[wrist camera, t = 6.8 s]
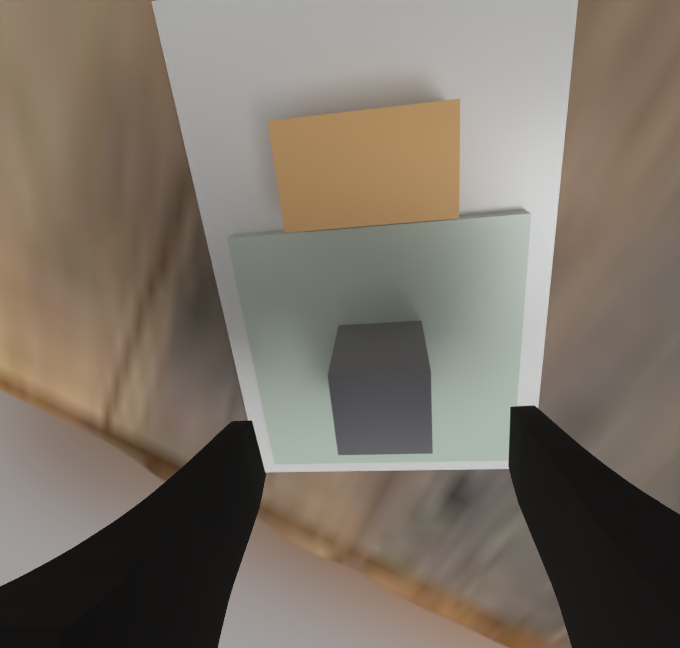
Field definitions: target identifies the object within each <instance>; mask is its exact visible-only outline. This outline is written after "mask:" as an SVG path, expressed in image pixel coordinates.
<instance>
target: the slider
mask: <svg viewBox="0 0 680 648" xmlns="http://www.w3.org/2000/svg"><path fill="white" fill-rule="evenodd" d="M267 122H268V129H269V135H270V141H271V148H272V154H273V161H274V167H275V173H276V180H277V186H278V193H279V199H280V206H281V212H282V218H283V225H284V231H285V233H289V232H301V231H313V230H325V229H337V228H349V227H361V226H372V225H384V224H396V223H408V222H420V221H432V220H444V219H456V218H459V188H460V99H451V100H442V101H434V102H425V103H417V104H408V105H400V106H391V107H383V108H374V109H365V110H357V111H348V112H340V113H331V114H323V115H314V116H306V117H297V118H288V119H280V120H271V121H267Z"/></svg>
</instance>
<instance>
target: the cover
mask: <svg viewBox="0 0 680 648" xmlns="http://www.w3.org/2000/svg"><path fill="white" fill-rule="evenodd" d="M530 223H531V213H530V212H528V211H527V210H518V211H506V212H494V213H483V214H471V215H459V218H456V219H444V220H432V221H420V222H408V223H396V224H384V225H372V226H361V227H349V228H337V229H325V230H313V231H301V232H289V233H285V231H284V230H281V231H269V232H258V233H246V234H234V235H231V236H230V237H229V238H227V241H228V245H229V250H230V255H231V260H232V264H233V269H234V274H235V279H236V283H237V288H238V293H239V297H240V302H241V307H242V312H243V316H244V321H245V326H246V331H247V335H248V340H249V345H250V350H251V354H252V359H253V364H254V368H255V373H256V378H257V383H258V387H259V392H260V397H261V402H262V406H263V411H264V416H265V421H266V425H267V430H268V435H269V439H270V444H271V449H272V454H273V458H274V463H275V464H328V463H390V462H451V461H509V435H510V407H514V406H517V398H518V385H519V371H520V358H521V344H522V331H523V317H524V304H525V290H526V277H527V263H528V250H529V236H530Z"/></svg>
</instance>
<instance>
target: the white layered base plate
mask: <svg viewBox="0 0 680 648" xmlns="http://www.w3.org/2000/svg"><path fill="white" fill-rule="evenodd" d="M152 6H153V11H154V15H155V19H156V24H157V28H158V32H159V37H160V41H161V45H162V50H163V54H164V58H165V63H166V67H167V71H168V76H169V80H170V84H171V89H172V93H173V97H174V102H175V106H176V110H177V115H178V119H179V123H180V128H181V132H182V136H183V141H184V145H185V149H186V154H187V158H188V162H189V166H190V171H191V175H192V179H193V184H194V188H195V192H196V197H197V201H198V205H199V210H200V214H201V218H202V223H203V227H204V231H205V236H206V240H207V244H208V249H209V253H210V257H211V262H212V266H213V270H214V275H215V279H216V283H217V288H218V292H219V296H220V301H221V305H222V309H223V314H224V318H225V322H226V327H227V331H228V335H229V340H230V344H231V348H232V353H233V357H234V361H235V366H236V370H237V374H238V379H239V383H240V387H241V392H242V396H243V400H244V405H245V409H246V413H247V418H248V421H250V420H252V422H253V426H254V430H255V434H256V438H257V442H258V446H259V450H260V454H261V458H262V462H263V466H264V470H265V472H319V471H391V470H463V469H509V467H508V463H509V461H451V462H390V463H328V464H275V463H274V458H273V454H272V449H271V444H270V439H269V435H268V430H267V425H266V421H265V416H264V411H263V406H262V402H261V397H260V392H259V387H258V383H257V378H256V373H255V368H254V364H253V359H252V354H251V350H250V345H249V340H248V335H247V331H246V326H245V321H244V316H243V312H242V307H241V302H240V297H239V293H238V288H237V283H236V279H235V274H234V269H233V264H232V260H231V255H230V250H229V245H228V241H227V238H229V237H230V236H231V235H234V234H246V233H258V232H269V231H281V230H284V225H283V218H282V212H281V206H280V199H279V193H278V186H277V180H276V173H275V167H274V161H273V154H272V148H271V141H270V135H269V129H268V122H267V121H271V120H280V119H288V118H297V117H306V116H314V115H323V114H331V113H340V112H348V111H357V110H365V109H374V108H383V107H391V106H400V105H408V104H417V103H425V102H434V101H442V100H451V99H460V188H459V215H471V214H483V213H494V212H506V211H518V210H527V211H528V212H530V213H531V223H530V236H529V250H528V263H527V277H526V290H525V304H524V317H523V331H522V344H521V358H520V371H519V385H518V398H517V406H533V405H534V406H536V407H537V408H538V404H539V394H540V384H541V374H542V364H543V353H544V343H545V333H546V323H547V313H548V303H549V292H550V282H551V272H552V262H553V252H554V241H555V231H556V221H557V211H558V201H559V190H560V180H561V170H562V160H563V150H564V140H565V129H566V119H567V109H568V99H569V89H570V78H571V68H572V58H573V48H574V38H575V28H576V17H577V7H578V0H158V1H152Z"/></svg>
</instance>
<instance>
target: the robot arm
mask: <svg viewBox="0 0 680 648" xmlns="http://www.w3.org/2000/svg"><path fill="white" fill-rule="evenodd" d="M508 467H509V470H510V474H511V478H512V482H513V486H514V489H515V493H516V496H517V500H518V503H519V505H520V508H521V510H522V513H523V515H524V518H525V520H526V523H527V525H528V528H529V530H530V533H531V535H532V537H533V540H534V542H535V545H536V547H537V550H538V552H539V554H540V557H541V559H542V562H543V564H544V567H545V569H546V572H547V574H548V576H549V579H550V581H551V584H552V586H553V589H554V592H555V595H556V597H557V600H558V603H559V606H560V609H561V613H562V616H563V619H564V623H565V626H566V629H567V632H568V636H569V639H570V642H571V645H572V648H680V514H678V513H676V512H675V511H673V510H671V509H670V508H668V507H666V506H665V505H663V504H662V503H660V502H659V501H657V500H655V499H654V498H652V497H651V496H649V495H647V494H646V493H644V492H643V491H641V490H640V489H638V488H637V487H635V486H634V485H632V484H631V483H629V482H628V481H627V480H625V479H624V478H622V477H621V476H620V475H618V474H617V473H616V472H614V471H613V470H611V469H610V468H609V467H607V466H606V465H605V464H603V463H602V462H601V461H599V460H598V459H597V458H596V457H594V456H593V455H592V454H591V453H589V452H588V451H587V450H586V449H584V448H583V447H582V446H581V445H579V444H578V443H577V442H576V441H575V440H574V439H572V438H571V437H570V436H569V435H568V434H567V433H565V432H564V431H563V430H562V429H561V428H560V427H558V426H557V425H556V424H555V423H554V422H553V421H552V420H551V419H549V418H548V417H547V416H546V415H545V414H544V413H543V412H541V411H540V410H539V409H538V408H537V407H536V406H534V405H533V406H514V407H510V435H509V463H508ZM265 477H266V473H265V470H264V466H263V462H262V458H261V454H260V450H259V446H258V442H257V438H256V434H255V430H254V426H253V422H252V420H250V421H232V422H231V423H230V424H228V425H227V426H226V427H225V428H224V429H223V430H222V431H221V432H220V433H219V434H217V435H216V436H215V437H214V438H213V439H212V440H211V441H210V442H209V443H208V444H207V445H206V446H205V447H204V448H203V449H202V450H201V451H200V452H198V453H197V454H196V455H195V456H194V457H193V458H192V459H191V460H190V461H189V462H188V463H187V464H186V465H184V466H183V467H182V468H181V469H180V470H179V471H178V472H176V473H175V474H174V475H173V476H172V477H171V478H169V479H168V480H167V481H166V482H165V483H164V484H163V485H161V486H160V487H159V488H158V489H157V490H155V491H154V492H153V493H152V494H151V495H149V496H148V497H147V498H146V499H144V500H143V501H142V502H140V503H139V504H138V505H136V506H135V507H134V508H132V509H131V510H129V511H128V512H127V513H125V514H124V515H123V516H121V517H120V518H119V519H117V520H116V521H114V522H113V523H111V524H110V525H108V526H106V527H105V528H103V529H102V530H100V531H99V532H97V533H96V534H94V535H92V536H91V537H89V538H88V539H87V540H85V541H83V542H82V543H80V544H79V545H77V546H75V547H74V548H72V549H70V550H68V551H67V552H65V553H63V554H61V555H60V556H58V557H56V558H54V559H53V560H51V561H49V562H47V563H45V564H44V565H42V566H40V567H38V568H36V569H34V570H32V571H31V572H29V573H27V574H25V575H23V576H21V577H19V578H17V579H15V580H13V581H11V582H9V583H7V584H5V585H2V586H0V648H218V643H219V639H220V635H221V630H222V626H223V622H224V618H225V613H226V609H227V605H228V601H229V598H230V594H231V591H232V588H233V584H234V581H235V578H236V576H237V572H238V570H239V567H240V564H241V561H242V558H243V555H244V552H245V549H246V546H247V543H248V541H249V538H250V535H251V532H252V529H253V526H254V523H255V520H256V517H257V514H258V510H259V507H260V502H261V498H262V493H263V488H264V482H265Z"/></svg>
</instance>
